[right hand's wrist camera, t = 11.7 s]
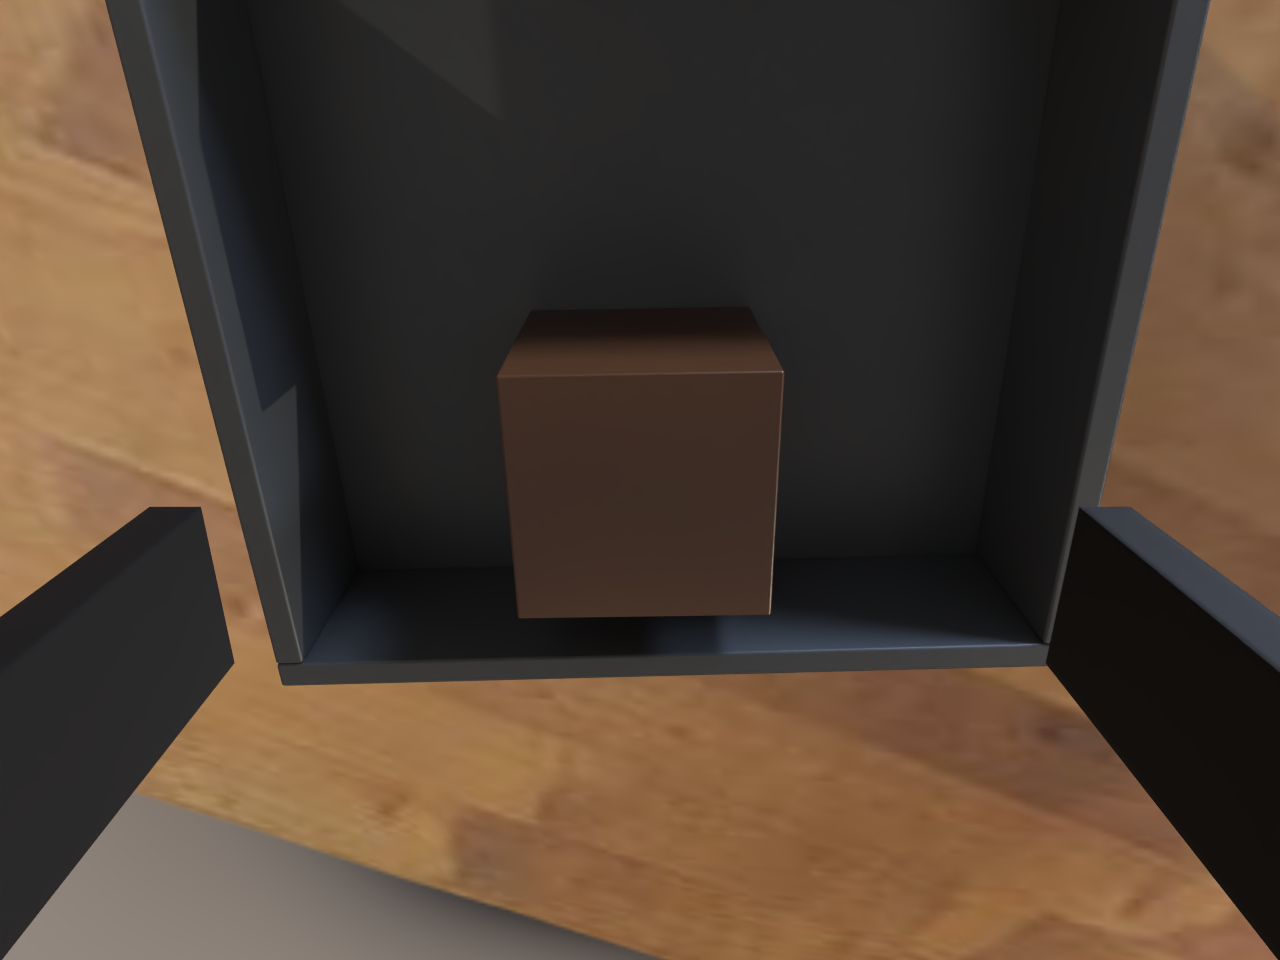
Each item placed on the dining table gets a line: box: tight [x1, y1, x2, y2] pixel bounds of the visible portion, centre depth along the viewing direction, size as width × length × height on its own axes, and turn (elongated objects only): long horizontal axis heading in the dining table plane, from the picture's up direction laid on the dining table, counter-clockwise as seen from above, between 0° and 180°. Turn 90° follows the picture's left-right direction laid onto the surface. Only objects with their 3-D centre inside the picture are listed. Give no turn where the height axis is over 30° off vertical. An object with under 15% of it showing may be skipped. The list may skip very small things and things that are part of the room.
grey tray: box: [105, 0, 1210, 686], centre depth 13 cm, size 23×17×10 cm
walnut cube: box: [496, 307, 784, 618], centre depth 18 cm, size 5×5×5 cm
